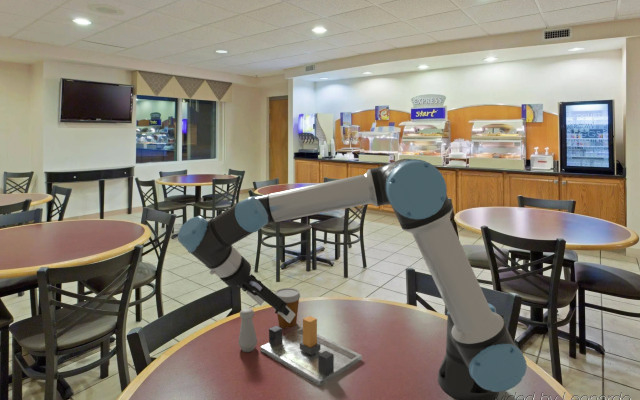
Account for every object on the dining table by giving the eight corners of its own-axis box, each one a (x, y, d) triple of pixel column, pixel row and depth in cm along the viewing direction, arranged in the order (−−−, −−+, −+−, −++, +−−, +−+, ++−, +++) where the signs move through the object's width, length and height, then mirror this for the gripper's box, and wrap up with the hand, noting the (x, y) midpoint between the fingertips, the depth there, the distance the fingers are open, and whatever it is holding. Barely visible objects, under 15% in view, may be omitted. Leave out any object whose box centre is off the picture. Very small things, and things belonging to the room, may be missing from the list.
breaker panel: (361, 359, 114) (362, 339, 114) (319, 386, 102) (319, 363, 101) (302, 331, 132) (302, 313, 132) (260, 350, 120) (260, 331, 119)
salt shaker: (249, 342, 125) (248, 304, 123) (261, 348, 122) (260, 309, 120) (234, 349, 121) (233, 310, 119) (246, 355, 117) (245, 315, 115)
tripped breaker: (320, 350, 117) (320, 319, 115) (311, 355, 114) (310, 323, 112) (309, 344, 120) (308, 314, 119) (299, 349, 117) (299, 318, 116)
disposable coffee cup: (302, 318, 142) (302, 288, 141) (298, 330, 133) (298, 298, 131) (277, 317, 143) (276, 287, 142) (271, 329, 134) (270, 297, 132)
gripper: (197, 264, 101) (244, 305, 113) (247, 295, 83) (297, 339, 95) (216, 243, 104) (260, 284, 116) (268, 267, 86) (314, 314, 98)
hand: (276, 309), depth 106 cm, fingers open, 13 cm apart
